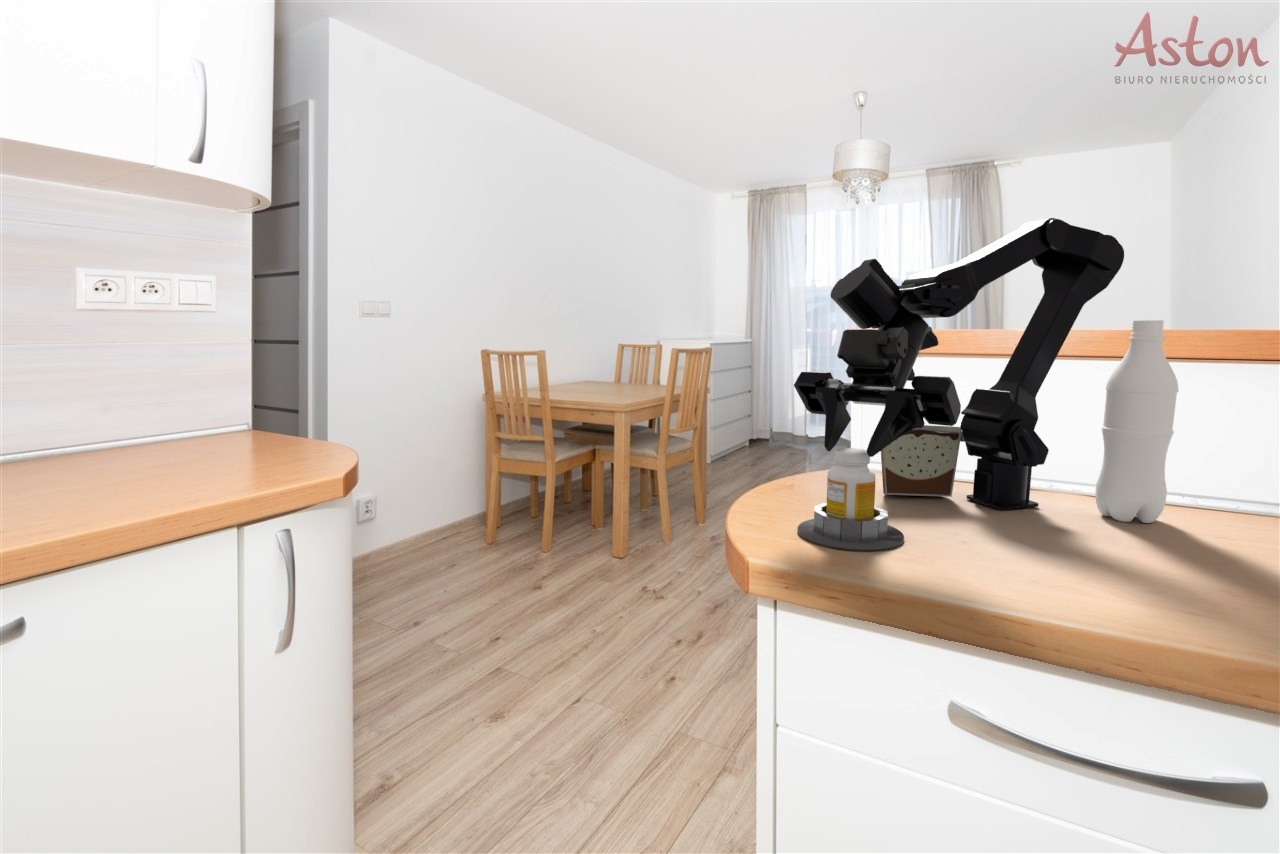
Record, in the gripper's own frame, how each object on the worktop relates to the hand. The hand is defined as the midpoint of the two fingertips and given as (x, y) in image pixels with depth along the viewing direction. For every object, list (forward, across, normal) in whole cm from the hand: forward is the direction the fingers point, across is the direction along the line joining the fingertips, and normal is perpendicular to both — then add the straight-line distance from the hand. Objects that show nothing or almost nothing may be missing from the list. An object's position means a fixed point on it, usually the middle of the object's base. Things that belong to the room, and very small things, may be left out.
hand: (847, 451), depth 74 cm
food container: (-11, -2, +25) cm, 28 cm away
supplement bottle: (+6, 0, +8) cm, 10 cm away
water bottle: (-15, +23, +30) cm, 41 cm away
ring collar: (+6, 0, +8) cm, 10 cm away
